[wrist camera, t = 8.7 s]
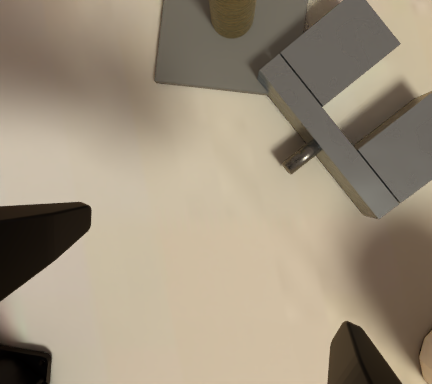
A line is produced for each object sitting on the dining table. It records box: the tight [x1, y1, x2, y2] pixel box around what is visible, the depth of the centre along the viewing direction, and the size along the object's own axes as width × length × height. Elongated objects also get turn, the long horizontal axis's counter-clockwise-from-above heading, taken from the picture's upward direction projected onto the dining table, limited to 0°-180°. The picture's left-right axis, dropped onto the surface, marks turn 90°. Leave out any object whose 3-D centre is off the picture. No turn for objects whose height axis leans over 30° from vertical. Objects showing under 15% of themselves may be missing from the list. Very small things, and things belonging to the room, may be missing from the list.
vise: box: [257, 0, 432, 219], centre depth 17 cm, size 10×12×2 cm
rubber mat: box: [155, 0, 308, 95], centre depth 17 cm, size 10×10×1 cm
